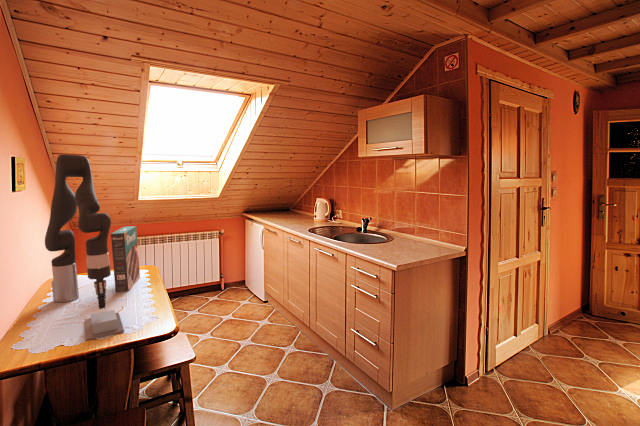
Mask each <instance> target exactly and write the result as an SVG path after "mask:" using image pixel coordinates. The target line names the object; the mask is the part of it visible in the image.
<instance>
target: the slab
mask: <svg viewBox="0 0 640 426" xmlns="http://www.w3.org/2000/svg"><path fill="white" fill-rule="evenodd" d="M115 313H116V310H115V309H111V310H107V311H106V310H105V311H100V312H97V313H91V314H90V318H91V321H92V329H93V335H94V334H98V333H102V332H107V331H111V330H115V329H118V325H117V317H116V314H115Z"/></svg>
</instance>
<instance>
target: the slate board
mask: <svg viewBox="0 0 640 426" xmlns="http://www.w3.org/2000/svg"><path fill="white" fill-rule="evenodd" d="M115 314H116V317H117V325H118V329H115V330H111V331H107V332H102V333H98V334H94V335H93V329H92V321H91V317H90V318H86V319H84V323H85V338H86V341H87V342H88V341H92V340H96V339H99V338H105V337H109V336H112V335H116V334H121V333H125V329H124V325H123V322H122V319H121V316H120V313H119V312H115Z"/></svg>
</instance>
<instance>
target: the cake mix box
mask: <svg viewBox="0 0 640 426" xmlns="http://www.w3.org/2000/svg"><path fill="white" fill-rule="evenodd" d="M137 232H138V229H137V225H135V226H134V225H132V226H130V225H129V226H128V225H127V226H123V227H121V228H119V229H117V230H115V231H114V232H111V233H110V238H111V239H110V241H111V251H112V252H111V253H112V264H113V265H112V266H113V267H112V268H113V276H114V277H113V278H114V288H115V293H119V292H120V293H121V292H122V293H123V292H129V291H130V290H131V289H132V288H133V286H135V284H136V283H137V282H138V281H139V280H140V279H141V273H140V260H139V259H140V258H139V247H138V245H139V243H138V233H137Z"/></svg>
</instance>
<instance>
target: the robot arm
mask: <svg viewBox="0 0 640 426" xmlns="http://www.w3.org/2000/svg"><path fill="white" fill-rule="evenodd" d="M67 178H82V181H81V182H80V184H79V186H78V187H77V189H76V190H75V192H74V191H73V190H72V189H71V187H70V186H69V184H68V183H67V181H66V180H67ZM53 188H54V189H53V195H52V199H51V204H50V205H51V206H50V213H49V214H50V215H49V222H48V225H47V229H46V232H45V236H44V246H45V249H46V250H47V251H48V252H60V251H63V252H62V253H61V254H59V255H58V256H56V257H54V258H52V259H51V260H50V261H51V262H50V263H51V270H52V271H51V272H52V281H51V288H52V301H53V302H54V301H55V302H56V303H66V302H73V301H75V300H77V299H79V297H80V294H79V292H80V291H79V283H78V281H79V280H78V271H77V261H76V257H77V256H76V254H77V253H76V238H75V237H76V236H75V234H74V231H73V230H71V229H63V227H64V226H65V225H67V223H69V222H70V221H71V220H72V219H73V218H74V217H75V215H76V214H77V210H78V220H77V226H78V229H79V231H81V232H82V233H84V234H90V233H97V232H98V234H97V235H96V236H94V237H91V238H89V239H87V240H86V241H85V251H86V254H85V255H86V261H85V262H86V269H87V271H86V272H87V278H88V279H89V280H95V281H93V286H94V289H95V295H97V297H96V299H97V302H98V309H99V310H102V309H103V310H104V309H106V308H107V307H106V297H107V295H106V294H107V281H106V279H105V278H108V277H110V276H111V275H112V272H111V262H110V261H111V260H110V255H109V248H108V246H109V245H108V240H109V235H110V229H111V225H112V219H111V216H110V215H109V214H108V213H106V212H99V211H101V210H100V208H101V205H100V202H99V200H98V197H97V195H96V190H95V186H94V179H93V172H92V169H91V163H90V160H89V159H88V157H87V156H85V155H82V154H69V153H68V154H65V153H64V154H63V153H61V154H58V156H57V158H56V162H55V179H54V187H53ZM62 229H63V230H62Z"/></svg>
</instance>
